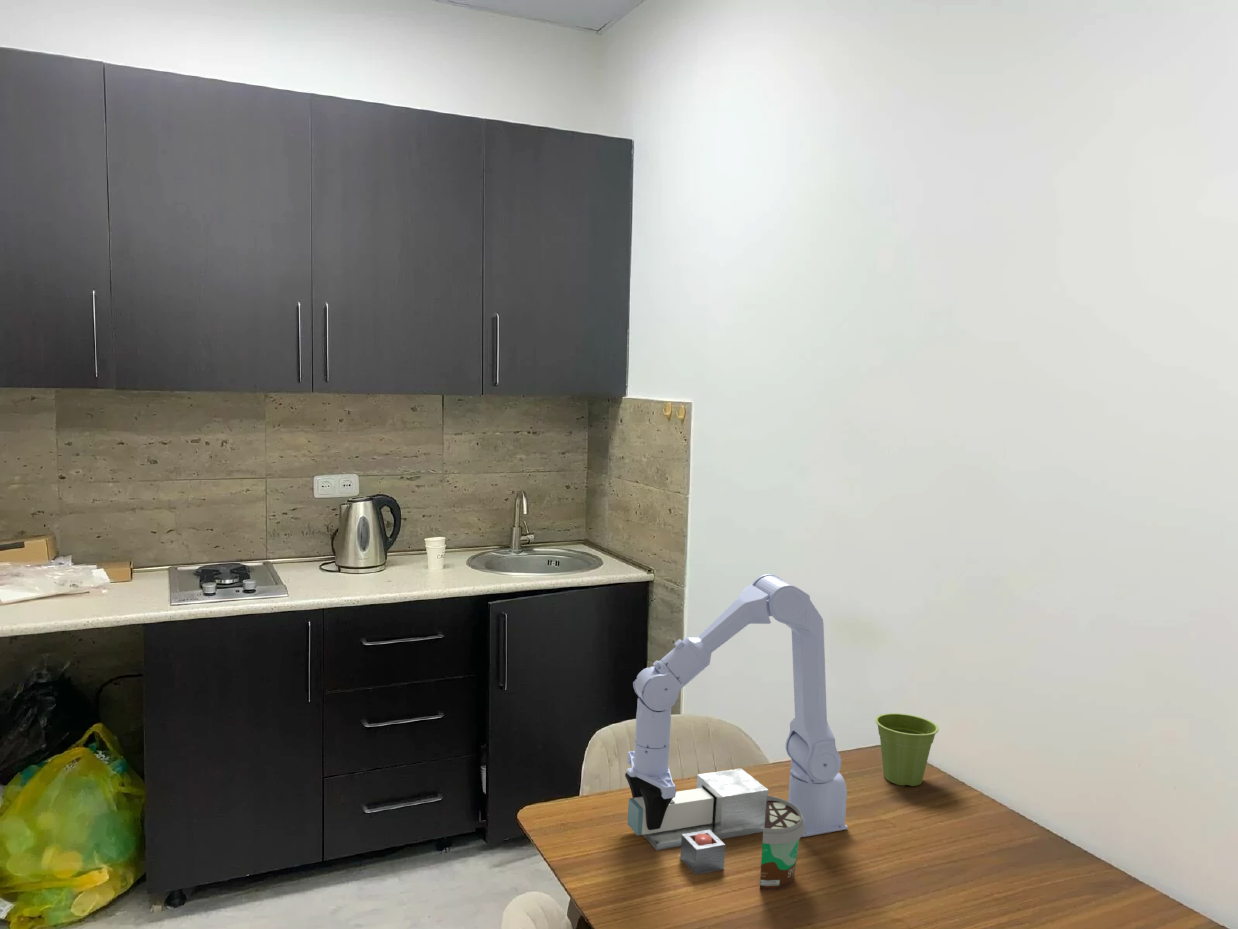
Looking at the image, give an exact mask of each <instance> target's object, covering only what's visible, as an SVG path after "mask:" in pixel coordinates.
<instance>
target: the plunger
mask: <svg viewBox="0 0 1238 929" xmlns="http://www.w3.org/2000/svg"><path fill="white" fill-rule="evenodd" d="M695 842H696V843H697V844H698V845H699V846H702V845H707V844H712V837H711V836H710V835H707V834H697V835H696V836H695Z"/></svg>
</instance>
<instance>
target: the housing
mask: <svg viewBox="0 0 1238 929" xmlns="http://www.w3.org/2000/svg"><path fill="white" fill-rule="evenodd" d="M698 788H703V789H704V790H705V791H706V792H708V793H709V794H710V795H711V796H712V797H713V798H714V801H713V818H712V823H711V824H705V825H699V826H692V827H686V828H680V829H674V830H668V831H662V832H656V833H650V834H644V835H642V836H643V837H644V838H645V839H646V840H647V841H648V843H650V845H651V846H652V847H653V848H654V849H655V851H661V850H666V849H672V848H676V847H677V848H678V847H681V838H682V834H686V833H692V832H698V831H704V830H711V831H712V832H713V833H714V834H715V835H716V836H717V837H718V838H719V839H720V840H723V839H729V838H735V837H741V836H746V835H752V834H758V833H763V828H764V825H765V810H766V795H768V796H769V788H767V787H766V786H765V785H763V784H762V783H760V782H759V781H758V780H757V779H755V778H754V777H753V776H752V775H750V773H748V772H747V771H745V770H744V769H742V768H741V767H740V768H735V769H726V770H719V771H713V772H706V773H705V772H704V773H699V774H697V775H696V789H698Z"/></svg>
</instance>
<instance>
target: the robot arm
mask: <svg viewBox="0 0 1238 929" xmlns="http://www.w3.org/2000/svg"><path fill="white" fill-rule="evenodd" d="M770 617H772V618H773V619H774V620H776V621H777V622H778V623H781V624H785V625H786V626H787V627H788V628H789V629H791V643H792V645H791V646H792V648H791V649H792V672H793V677H792V678H793V699H794V700H793V701H794V702H793V703H794V717H793V719H792V720H791V721H790V722H789V732H788V735H787V738H786V740H785V751H786V754H787V756H788V757H789V758H790V759H791V760H790V768H789V785H788V798H787V799H788V800H787V801H788V802H790V803H792V804H794V805H795V806H796V807H797V808H798V809H799V810H800V811H801V813H802V816H803V819H804V826H805V833H804V834H803V836H802V837H801V838H806V837H811V836H816V835H823V834H828V833H832V832H833V833H834V832H838V831H843V830H847V829H848V825H847V824H846V823H845V821H846V811H847V798H848V788H847V785H846V780H845V779H844V777H843V775H842V774H841V773H840V770H841V768H842V758H841V755H840V753H839V751H838V750H837V746H836V738H835V735H834V733H833V730H832V729H831V726H830V724H829V723H828V719H827V718H828V714H827V687H826V685H827V684H826V682H827V680H826V658H825V630H824V628H825V626H824V625H825V624H824V619H823V616H821V614H820V613H819V610H818V609H817V608H816V606H815V604H813V602H812V600H811V596H810V595H809V594H808V593H807V592H805V591H804V590H802V589H801V588H799V587H797V586H795V585H792V584H789V583H788V582H786V581H785V580H783V579H781V578H780V577H779V576H776V575H775V574H772V573H770V574H769V573H767V574H762V575H760V576H758V577H757V578H756V579H755V580H754V581H753V582H752V583H751V584H750V583H749V585H747V586H746V587H744V588H743V590H742V592H741V593H740V594H739V595H738V597H737V598H736V600H734V602H732V603H731V604H730V605H729V606H728V607H727V608H726V609H725V610H724V611H723V612H722V613H721V614H720V615H719V616H718V617H717V618H716V619H715V620H714V621H713V622H712V623H711V624H709V626H707V628H706V629H704V630H703V631H702V632H701V633H700V634H699V635H698V636H693V637H692V636H691V637H690V636H687V637H685V638H684V639H683V640H682V639H680V638H679V639H677V640H676V641H675V642H674V646H675V647H673V648H672V649H671V650H670V651H669V652H668V653H666V655H664V656H663V657H662V658H661V659H660V660H655V661H654V662H653V663H652V665H653V666H650V667H646V668H643V669H642V670H641V671H640V672H638V674H637V676H636V679H635V680H634V681H633V682H632V686H633V689H634V690H633V691H634V693H635V694H636V695H637V706H636V707H637V708H636V715H635V734H634V749H633V751H632V750H630V751H627V761H626V762H627V764H629V765H630V766H631V767H628V768H627V769H626V772H625V773H624V777H625V779H626V780H627V783H628V786H629V788H630V792H631V796H632V797H631V798H636V797H643V799H644V803H645V809H646V824H647V828H648V829H649V830H654V829H660V827H661V824H662V821H663V818H664V815H665V812H666V809H667V807H668V805H669V803H670V802H671V800H672V799H673V798H675V795H676V792H677V787H676V785H675V783H674V782H673V778H672V774H671V770H670V767H669V765H670V762H669V760H670V746H671V745H670V743H671V742H670V741H671V729H672V728H671V725H672V724H671V723H672V707H673V706H674V705H675V704H676V702H677V700H678V698H679V693H680V691H682V689H683V688H684V687H685V686H686V685H688V684H689V683H690V682H691V681H693V679H694V678H696V677H697V676H698V675H699V674H700V673H701V672H703V671H704V670H705V669H706V668H707V667H708V666H709V665H710V664H711V658H712V653H713V652H714V651H716V650H717V649H718V648H720V647H721V646H723V645H724V644H725V643H726V642H728V641H729V640H730V639H731V638H733V637H735V635H736V634H738V633H740V632H741V631H742V630H743V629H745V628H746V627H747V626H748V625H750V624H753V625H754V624H757V625H758V624H760V625H762V624H763V625H770V624H771V623H772V622H771V619H770Z"/></svg>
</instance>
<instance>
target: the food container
mask: <svg viewBox="0 0 1238 929" xmlns="http://www.w3.org/2000/svg"><path fill="white" fill-rule="evenodd" d="M804 833H805V826H804V819H803V816H802V813H801V811H800V810H799V809H798V808H797V807H796V806H795V805H794V804H792V803H790V802H788V800H786V799H783V798H781V797H778V796H772V795H769V794H768V795H766V810H765V825H764V828H763V832H762V843H761V844H762V846H761V860H760V874H759V875H760V879H759V891H779V890H780V891H781V890H782V889H786V888H788V887H789V886H791V885H792V884H793V882H794V878H795V872H796V871H795V870H796V866H797V865H796V864H797V857H798V852H799V844H800V839H801V838H803V837H802V836H803V834H804Z"/></svg>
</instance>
